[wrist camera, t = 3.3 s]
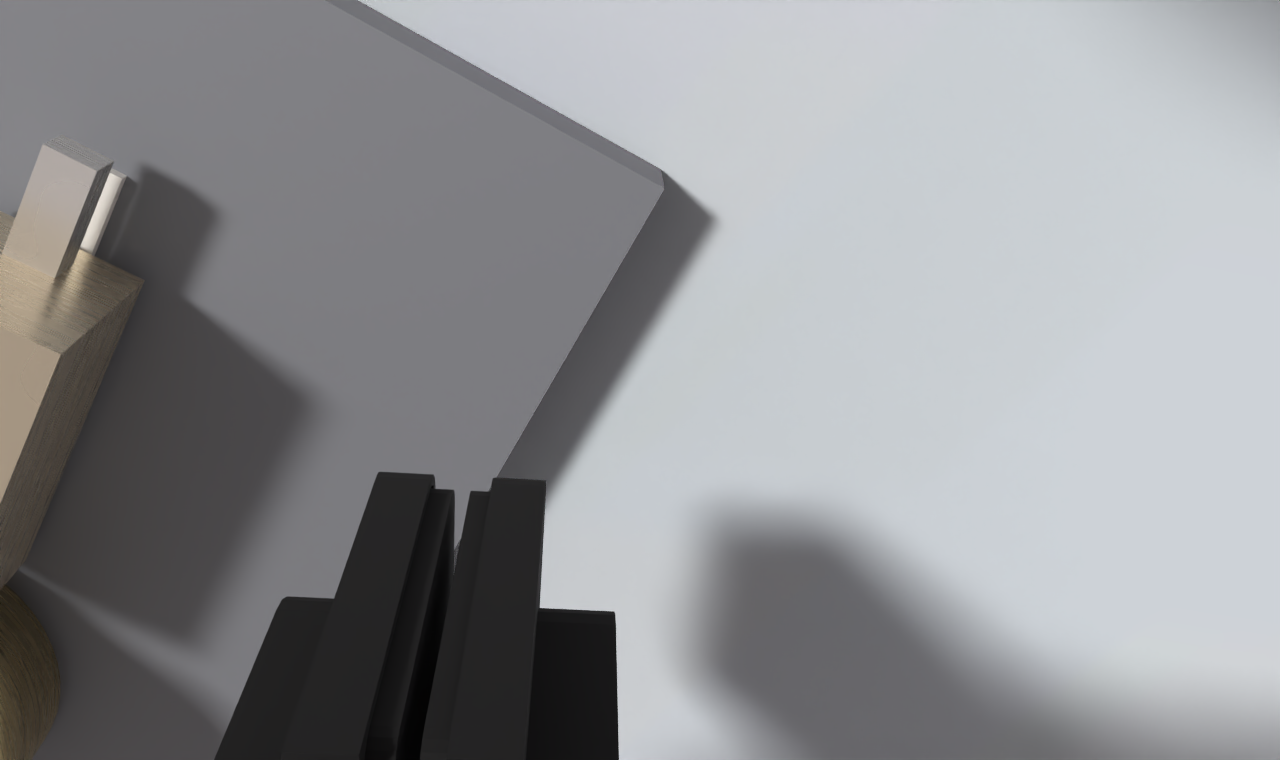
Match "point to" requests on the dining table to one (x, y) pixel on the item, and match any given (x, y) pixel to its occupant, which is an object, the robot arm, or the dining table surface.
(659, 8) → the dining table surface
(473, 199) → the board
